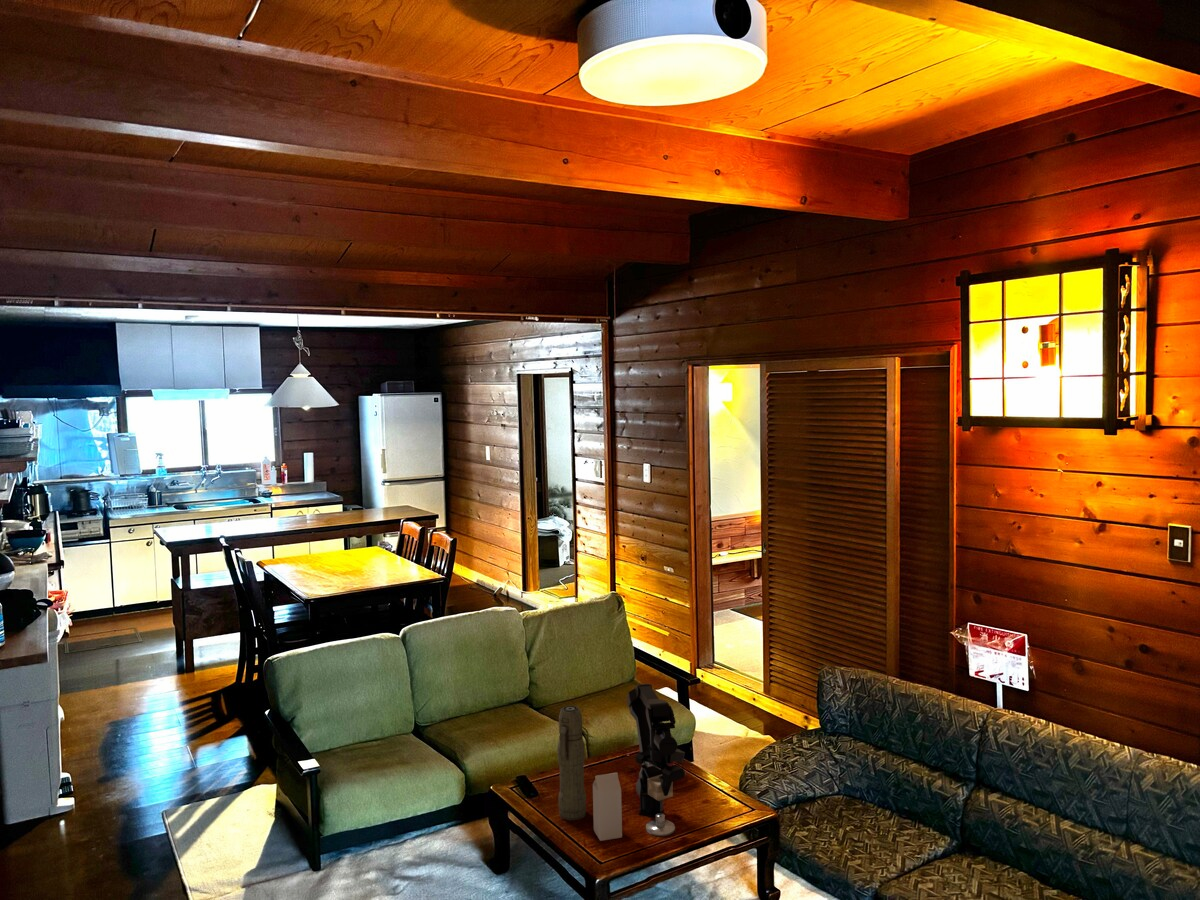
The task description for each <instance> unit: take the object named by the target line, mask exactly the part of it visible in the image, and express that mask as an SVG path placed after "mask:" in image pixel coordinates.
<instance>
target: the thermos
mask: <svg viewBox="0 0 1200 900" xmlns="http://www.w3.org/2000/svg"><path fill="white" fill-rule="evenodd" d="M558 715H559V716H558V733H559V736H558V742H557V763H558V765H559V766H558V767H559V769H558V770H559V793H558V796H557V797H558V809H559V812H558V815H560V816H559V817H560V818H561V819H563V820H565V819H566V821H578V820H581V819H583V818H585V816H586V814H587V813H586V807H587V793H586V790H585V781H584V780H585V777H584V776H585V775H584V774H585V771H584V770H585V769H584V766H585V765H584V764H585V762H586V757H585V756H586V753H585V752H586V750H585V741H584V739H583V737H584V736H583V734H582V733H583V715H582V713H581V709H580V708H579V706H578V707H577V706H576V705H566V706H563V707H562V708H560V712H559V714H558Z"/></svg>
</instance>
